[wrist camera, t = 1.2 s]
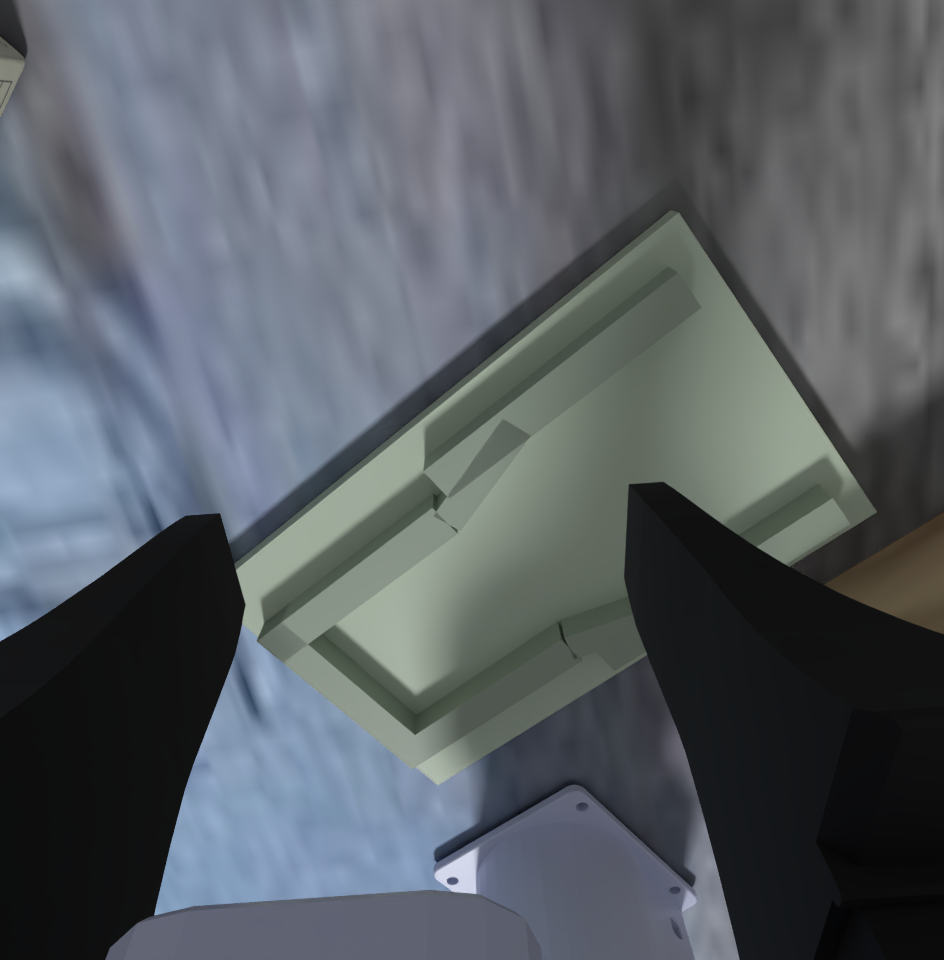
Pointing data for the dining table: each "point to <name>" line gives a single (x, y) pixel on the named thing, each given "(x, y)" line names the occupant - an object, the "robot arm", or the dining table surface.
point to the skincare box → (9, 71)
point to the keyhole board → (541, 509)
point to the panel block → (903, 577)
